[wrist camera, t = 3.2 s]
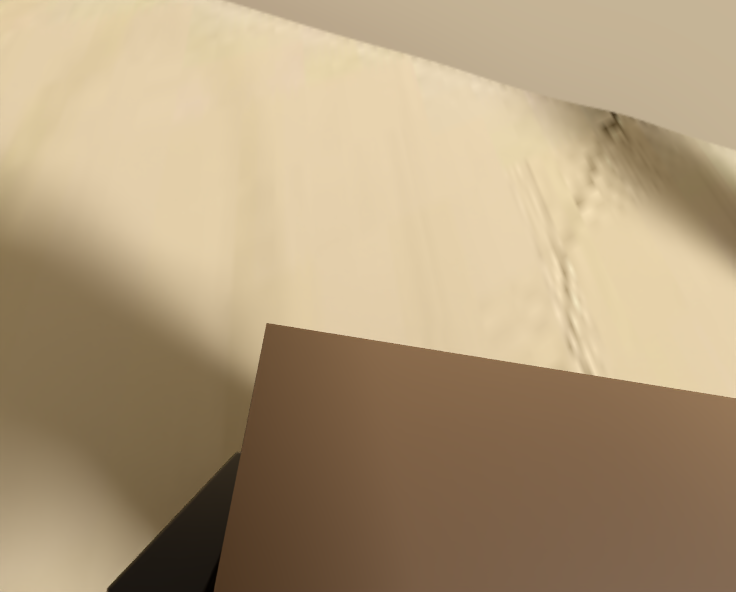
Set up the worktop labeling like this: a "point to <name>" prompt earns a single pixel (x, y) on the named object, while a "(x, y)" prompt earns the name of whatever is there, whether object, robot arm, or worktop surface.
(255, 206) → the worktop surface
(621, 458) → the brown square peg
